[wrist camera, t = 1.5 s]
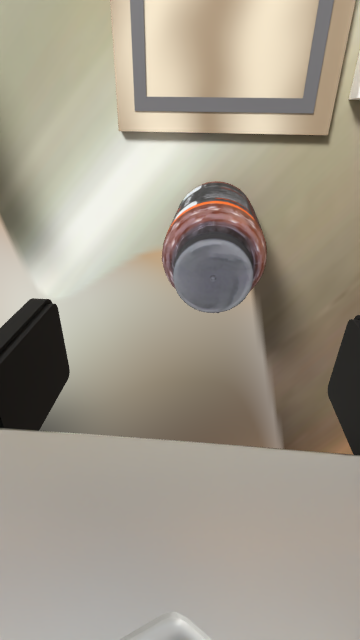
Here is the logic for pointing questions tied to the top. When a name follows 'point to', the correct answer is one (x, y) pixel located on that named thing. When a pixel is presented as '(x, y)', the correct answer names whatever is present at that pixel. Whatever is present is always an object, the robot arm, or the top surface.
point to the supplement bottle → (214, 248)
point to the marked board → (228, 64)
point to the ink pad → (356, 82)
